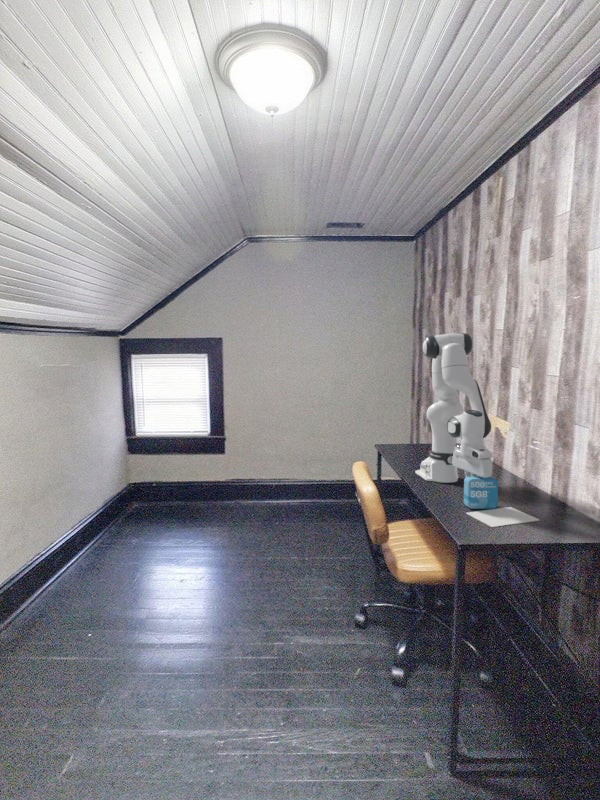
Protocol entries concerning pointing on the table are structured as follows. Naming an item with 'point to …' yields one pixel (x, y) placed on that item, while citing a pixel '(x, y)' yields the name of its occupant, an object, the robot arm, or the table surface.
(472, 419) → the robot arm
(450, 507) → the table surface
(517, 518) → the mat
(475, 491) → the data package
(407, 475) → the table surface
